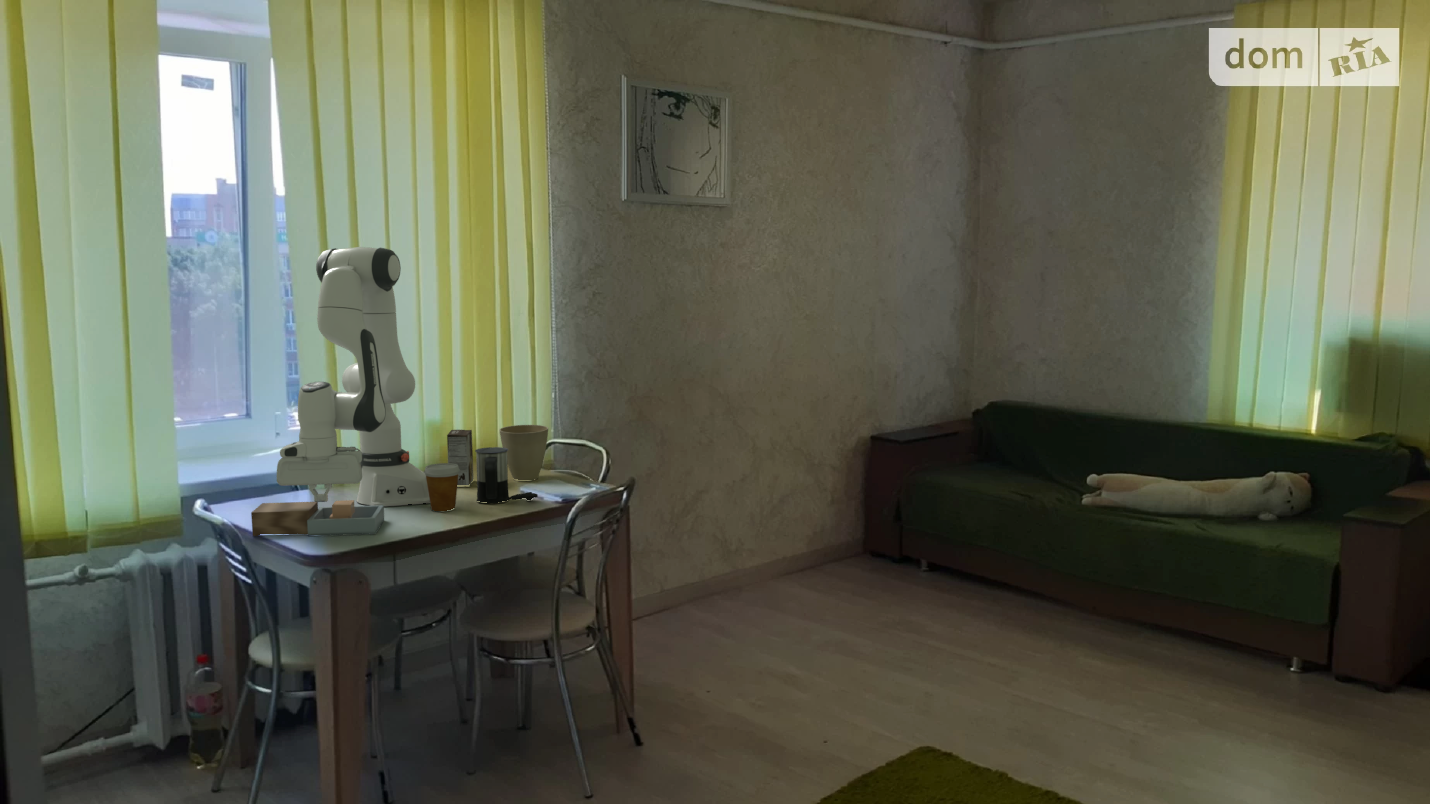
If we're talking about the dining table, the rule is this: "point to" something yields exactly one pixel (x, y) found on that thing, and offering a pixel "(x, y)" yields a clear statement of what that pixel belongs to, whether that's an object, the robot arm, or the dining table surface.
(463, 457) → the coffee box
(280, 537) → the dining table surface
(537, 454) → the plant pot
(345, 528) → the box
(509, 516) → the dining table surface
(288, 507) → the brown wooden box
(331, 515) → the tile
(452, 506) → the disposable coffee cup
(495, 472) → the milk frother
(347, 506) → the tile
